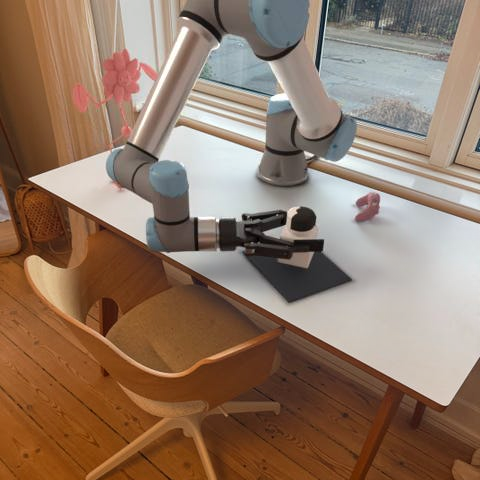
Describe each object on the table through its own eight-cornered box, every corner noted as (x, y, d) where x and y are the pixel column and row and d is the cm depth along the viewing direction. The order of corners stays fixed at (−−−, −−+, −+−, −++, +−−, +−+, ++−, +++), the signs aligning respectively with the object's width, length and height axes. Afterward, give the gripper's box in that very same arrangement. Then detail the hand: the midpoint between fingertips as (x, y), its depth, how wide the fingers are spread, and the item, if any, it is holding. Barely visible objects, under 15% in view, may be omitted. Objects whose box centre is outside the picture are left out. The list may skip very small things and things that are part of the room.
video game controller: (367, 229, 125) (384, 209, 120) (353, 220, 124) (369, 200, 119) (367, 210, 132) (383, 191, 127) (354, 202, 131) (369, 183, 126)
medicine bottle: (314, 252, 110) (321, 206, 102) (307, 269, 105) (314, 222, 97) (285, 245, 111) (289, 200, 103) (277, 262, 106) (281, 216, 98)
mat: (300, 235, 120) (300, 233, 119) (351, 280, 106) (352, 279, 106) (242, 252, 114) (242, 250, 113) (288, 303, 100) (288, 301, 100)
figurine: (87, 191, 134) (56, 55, 110) (156, 162, 148) (142, 37, 124) (119, 210, 127) (94, 69, 103) (189, 178, 141) (181, 48, 117)
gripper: (217, 222, 113) (309, 221, 114) (219, 278, 97) (326, 276, 98) (217, 194, 108) (313, 193, 109) (219, 248, 92) (331, 246, 93)
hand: (319, 232), depth 104 cm, fingers closed on medicine bottle, 9 cm apart
